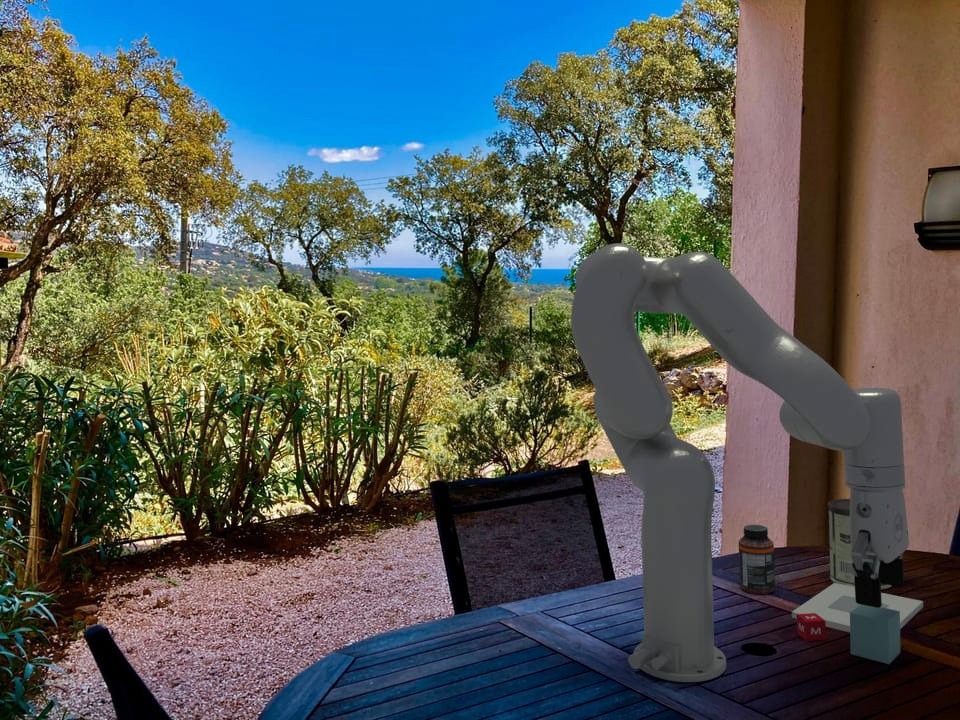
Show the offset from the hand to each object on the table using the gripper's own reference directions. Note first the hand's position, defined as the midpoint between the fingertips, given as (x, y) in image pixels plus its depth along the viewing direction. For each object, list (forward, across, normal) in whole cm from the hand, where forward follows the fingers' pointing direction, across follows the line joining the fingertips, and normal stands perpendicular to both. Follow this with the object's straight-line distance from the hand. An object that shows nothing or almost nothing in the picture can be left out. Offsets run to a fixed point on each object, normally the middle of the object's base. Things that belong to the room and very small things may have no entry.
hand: (880, 594), depth 105 cm
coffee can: (+9, +29, +13) cm, 33 cm away
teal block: (+8, -1, +1) cm, 8 cm away
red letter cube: (+8, -1, +10) cm, 13 cm away
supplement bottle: (+8, +13, +25) cm, 29 cm away
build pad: (+8, +13, +8) cm, 17 cm away
